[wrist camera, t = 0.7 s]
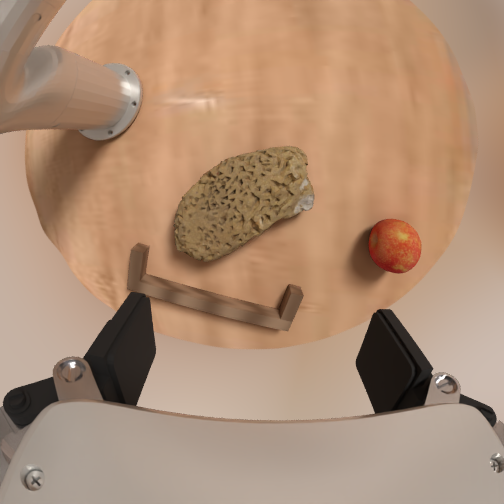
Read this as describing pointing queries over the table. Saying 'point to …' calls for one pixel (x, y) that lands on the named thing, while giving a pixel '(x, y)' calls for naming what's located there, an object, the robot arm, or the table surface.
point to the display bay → (210, 296)
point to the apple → (394, 245)
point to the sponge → (242, 201)
